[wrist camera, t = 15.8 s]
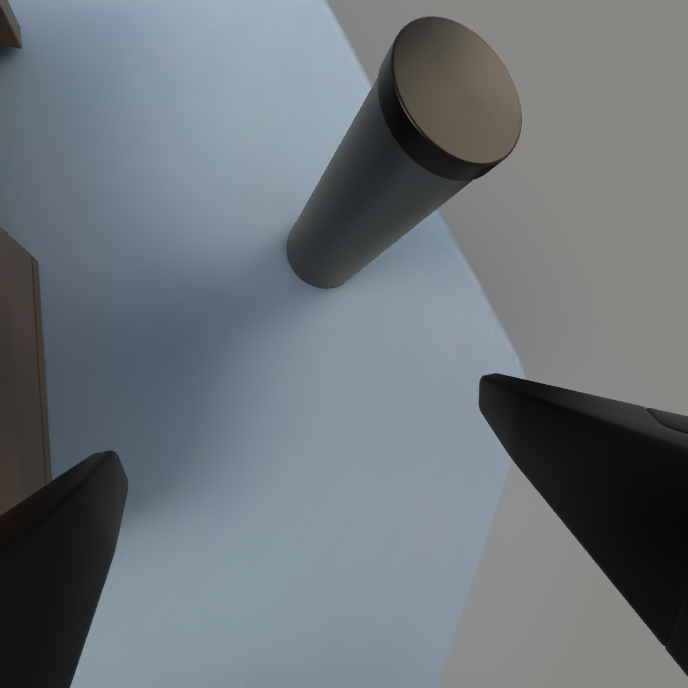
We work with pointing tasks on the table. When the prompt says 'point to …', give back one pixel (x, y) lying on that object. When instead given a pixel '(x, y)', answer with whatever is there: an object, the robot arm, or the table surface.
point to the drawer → (9, 27)
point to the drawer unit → (21, 378)
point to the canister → (407, 148)
